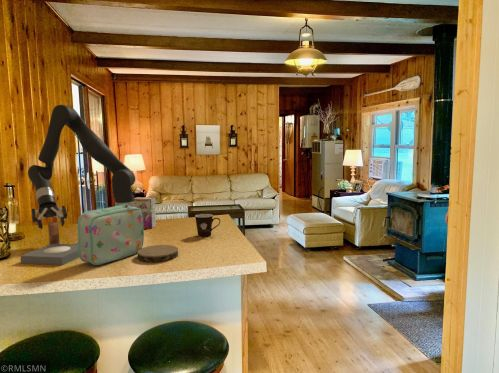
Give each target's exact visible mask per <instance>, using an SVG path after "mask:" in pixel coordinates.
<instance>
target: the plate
mask: <svg viewBox="0 0 499 373" xmlns="http://www.w3.org/2000/svg"><path fill="white" fill-rule="evenodd" d="M47 245H48V244H47ZM47 245H45V246H43V247H40V248H38V249H34V250H31V251H29V252H26V253H24V254H22V255H21V254H20V264H27V265H29V264H31V265H32V264H33V265H49V266H50V265H52V266H53V265H54V266H64V265H66V264H68V263H70V262H72V261H74V260H76V259H80V257H79V254H78V243H77V244H74V243H73V244H72V243H63V244H50V245H48V246H47Z"/></svg>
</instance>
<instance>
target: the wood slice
mask: <svg viewBox="0 0 499 373" xmlns="http://www.w3.org/2000/svg"><path fill="white" fill-rule="evenodd" d="M178 257H179V250H178V247H177V246H176V245H171V244H155V245H154V244H153V245H148V246H144V247H142V248H141V249H140V250H138V253H137V260H138V261H139V262H142V263H148V264H150V263H151V264H152V263H153V264H155V263H156V264H157V263H158V264H159V263H165V262H169V261H172V260H174V259H176V258H178Z"/></svg>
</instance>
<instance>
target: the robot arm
mask: <svg viewBox="0 0 499 373" xmlns="http://www.w3.org/2000/svg"><path fill="white" fill-rule="evenodd" d="M65 126H66V127H67V128H69V129H70V130H71V131H72V132H73V133H74V134H75V136H76V137H77V139H78V141H79V143H80V146H81V147H82V149H83V150H84V151H85V152H86V153H87V154H88V155H89V156H90V157H91V158H92V159H93V160H95V161H96V162H97V163H99V164H101V165H102V166H103V167H105V168H106V169H107V170H109V172H110V173H111V174H112V177H111V188H112V189H111V190H112V195H113V199H114V206H118V205H122V204H128V206H131V207H135V205H134V198H135V195H134V194H133V192H132V186H134V184H135V183H136V176H135V173H134V172H133V171H132V170H131V169H130V168H129V167H128V166H127V165H125V164H124V163H123V162H122V161H121V160H120V159H119V158H118V157H117V156H116V155H115V153H114V152H113V151H112V150H111V149H110V148H109V146H108V145H107V144H106V143H105V142H104V141H103V140H102V139H101V138H100V137H99V136H98V134H97V133H96V132H94V130H92V129H91V128H90V127H89V126H88V125H87V124H86V123H85V121H84V120H83V119H82V117H81V116H80V114H79V113H78V112H77V110H76V109H75V108H73V107H71V106H68V105H65V104H57V105H56V106H54V108H53V109H52V111H51V114H50V120H49V125H48V128H47V132H46V137H45V140H44V142H43V145H42V148H41V149H40V152H39V155H38V158H37V159H38V161H40V162H41V163H43V164H44V166H41V165H37V164H33V165H30V167H28V170H27V176H28V178H29V180H30V181H31V183H32V185H33V186H34V189H35V194H36V195H35V196H36V197H35V198H36V202H37V206H38V209H35V208H32V209H31V221H32V223H37V227H38V228H39V229H40V230H43V229H44V228H43V222H42V220H44V219H45V218H54V217H55V218H56V219H58V220H59V221H60V227H64V225H65V224H66V222H65V221H66V220H65V219H67V218H68V212H67V209H66V206H65V205H62V206H58V205H57V201H56V196H55V192H54V190H53V187H52V183H51V181H50V180H51V179H52V177H53V172H54V165H55V164H54V162H55V160H56V157H57V155H58V152H59V149H60V143H61V142H60V141H61V140H60V139H61V133H62V131H63V129H64V127H65ZM37 214H39V216H38V217H37V216H36V215H37Z"/></svg>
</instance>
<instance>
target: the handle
mask: <svg viewBox="0 0 499 373" xmlns="http://www.w3.org/2000/svg"><path fill="white" fill-rule="evenodd" d="M47 227H48V228H47V229H48V240H49V243H48V244H46V246H48V245H50V244H64V243H63V242H60V232H59V222H58V221H53V222H47Z"/></svg>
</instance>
